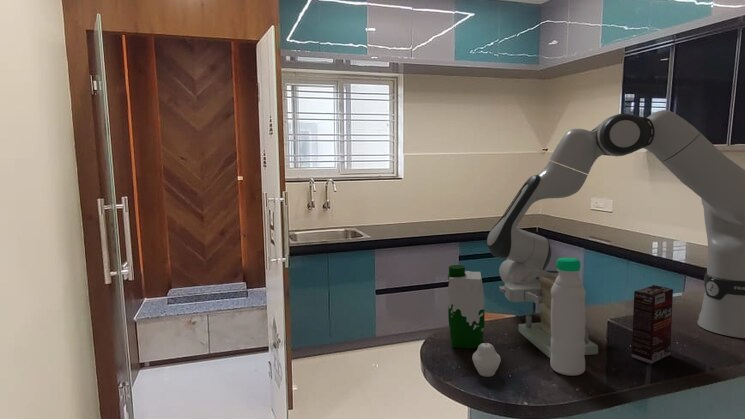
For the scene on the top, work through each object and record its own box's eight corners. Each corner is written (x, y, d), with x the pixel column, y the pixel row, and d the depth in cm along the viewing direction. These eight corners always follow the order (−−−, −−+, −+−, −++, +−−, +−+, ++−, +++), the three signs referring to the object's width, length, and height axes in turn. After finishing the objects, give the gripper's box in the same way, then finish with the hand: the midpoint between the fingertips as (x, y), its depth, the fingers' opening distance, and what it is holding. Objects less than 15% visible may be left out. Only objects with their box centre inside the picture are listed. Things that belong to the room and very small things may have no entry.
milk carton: (449, 335, 122) (448, 262, 120) (484, 336, 120) (483, 263, 118) (448, 348, 114) (446, 271, 111) (485, 350, 112) (484, 271, 110)
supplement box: (652, 365, 101) (654, 295, 99) (630, 357, 105) (632, 290, 103) (672, 355, 105) (674, 288, 104) (650, 348, 110) (652, 284, 108)
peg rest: (560, 327, 124) (560, 310, 124) (597, 353, 108) (598, 333, 107) (518, 331, 123) (518, 313, 123) (549, 358, 106) (549, 337, 106)
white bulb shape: (467, 375, 100) (466, 344, 99) (479, 364, 104) (479, 335, 104) (493, 383, 96) (493, 351, 95) (505, 371, 100) (505, 341, 100)
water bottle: (556, 377, 97) (557, 263, 94) (546, 362, 104) (546, 255, 101) (590, 376, 97) (592, 262, 94) (577, 362, 104) (578, 255, 101)
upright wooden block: (555, 327, 119) (555, 275, 118) (571, 339, 111) (572, 284, 110) (540, 329, 119) (540, 276, 117) (556, 340, 111) (556, 285, 109)
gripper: (496, 275, 125) (517, 289, 112) (566, 270, 128) (595, 284, 114) (496, 297, 126) (517, 314, 112) (566, 292, 128) (595, 308, 115)
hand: (557, 299), depth 113 cm, fingers open, 8 cm apart
